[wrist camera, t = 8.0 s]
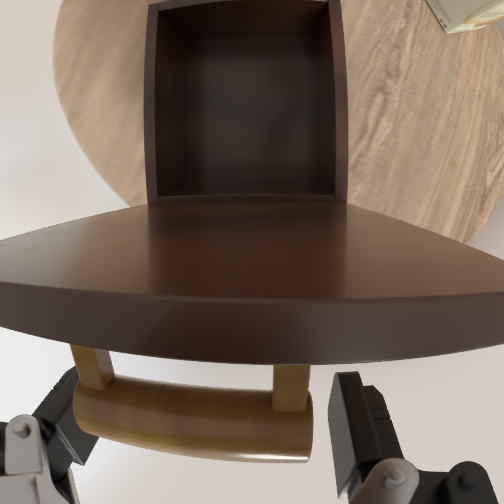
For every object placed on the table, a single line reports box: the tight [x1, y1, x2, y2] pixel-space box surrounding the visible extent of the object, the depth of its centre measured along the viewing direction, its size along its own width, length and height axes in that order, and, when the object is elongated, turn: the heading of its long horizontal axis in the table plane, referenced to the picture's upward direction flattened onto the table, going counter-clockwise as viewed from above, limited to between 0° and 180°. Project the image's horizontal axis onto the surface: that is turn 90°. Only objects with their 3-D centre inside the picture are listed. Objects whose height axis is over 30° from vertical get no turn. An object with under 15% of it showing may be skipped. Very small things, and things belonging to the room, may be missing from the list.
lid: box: [0, 202, 504, 463], centre depth 11 cm, size 15×13×5 cm
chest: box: [144, 0, 348, 204], centre depth 20 cm, size 15×13×8 cm
